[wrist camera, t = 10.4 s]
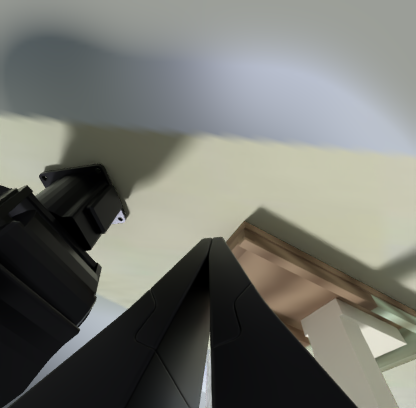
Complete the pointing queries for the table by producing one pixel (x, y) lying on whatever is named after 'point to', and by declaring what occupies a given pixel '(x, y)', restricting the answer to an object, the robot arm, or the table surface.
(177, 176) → the table surface
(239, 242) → the rail track
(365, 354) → the white block
